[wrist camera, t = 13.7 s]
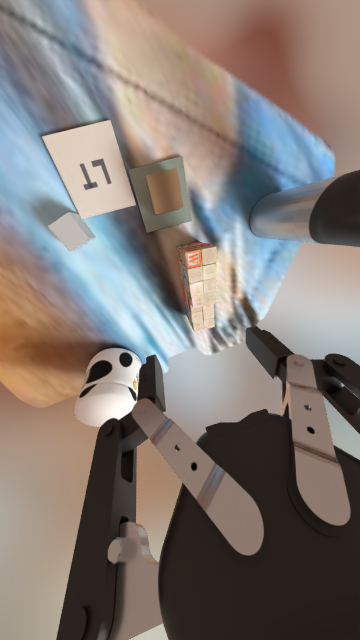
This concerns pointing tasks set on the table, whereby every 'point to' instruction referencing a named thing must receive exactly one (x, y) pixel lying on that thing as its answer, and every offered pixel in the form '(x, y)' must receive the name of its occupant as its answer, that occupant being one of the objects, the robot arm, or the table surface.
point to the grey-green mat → (143, 196)
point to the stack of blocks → (199, 282)
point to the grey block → (72, 231)
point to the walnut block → (164, 191)
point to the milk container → (108, 387)
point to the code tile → (91, 168)
